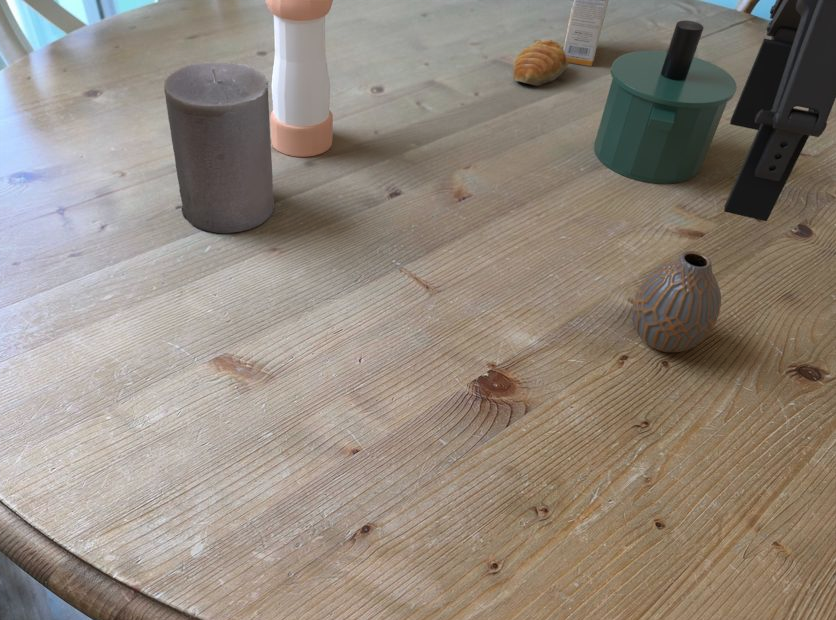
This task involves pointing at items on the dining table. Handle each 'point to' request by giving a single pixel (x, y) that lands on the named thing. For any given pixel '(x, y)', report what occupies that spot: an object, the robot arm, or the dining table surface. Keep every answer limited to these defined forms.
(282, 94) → the salt shaker
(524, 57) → the pastry
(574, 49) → the supplement box
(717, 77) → the lid
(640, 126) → the pot
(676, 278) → the vase
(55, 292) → the dining table surface
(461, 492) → the dining table surface
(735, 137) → the dining table surface
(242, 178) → the pillar candle
